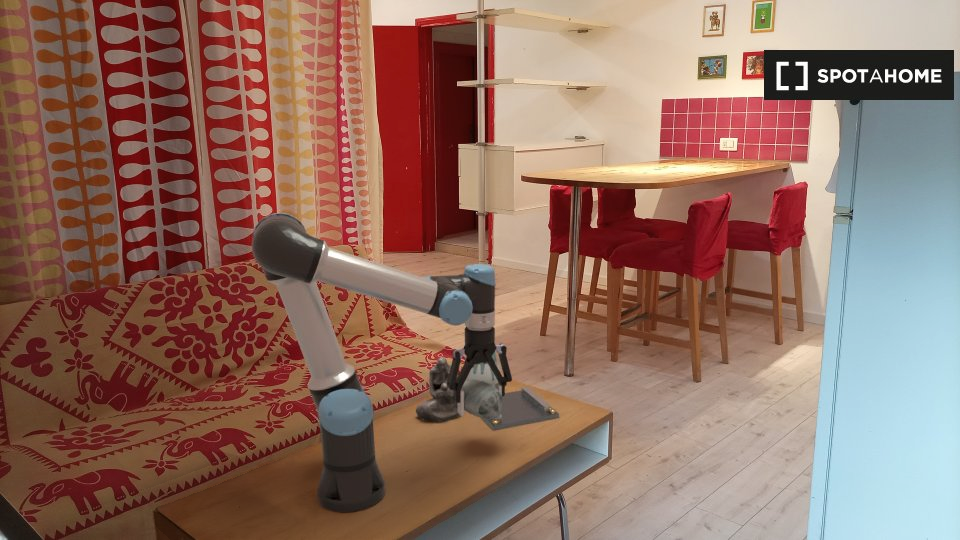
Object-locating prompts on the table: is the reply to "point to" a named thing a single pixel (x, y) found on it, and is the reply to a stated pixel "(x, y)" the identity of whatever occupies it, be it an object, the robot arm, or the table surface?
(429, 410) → the figurine
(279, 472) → the table surface
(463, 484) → the table surface
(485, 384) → the grey rock
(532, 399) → the carrier
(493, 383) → the vase
